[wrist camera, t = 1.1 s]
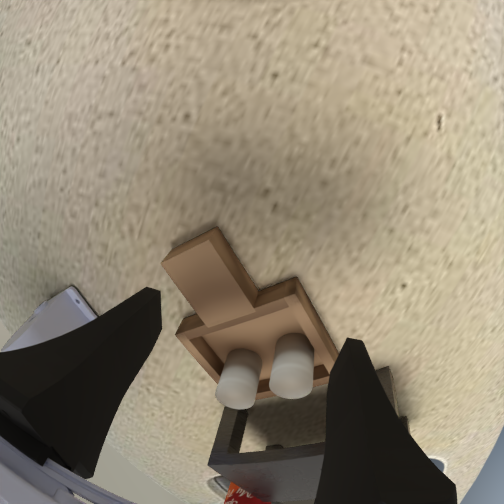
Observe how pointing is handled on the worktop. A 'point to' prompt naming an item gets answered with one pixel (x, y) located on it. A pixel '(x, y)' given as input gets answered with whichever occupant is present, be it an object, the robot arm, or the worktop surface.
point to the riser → (275, 458)
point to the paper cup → (241, 496)
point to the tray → (247, 326)
